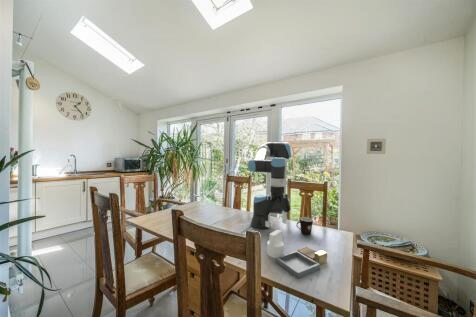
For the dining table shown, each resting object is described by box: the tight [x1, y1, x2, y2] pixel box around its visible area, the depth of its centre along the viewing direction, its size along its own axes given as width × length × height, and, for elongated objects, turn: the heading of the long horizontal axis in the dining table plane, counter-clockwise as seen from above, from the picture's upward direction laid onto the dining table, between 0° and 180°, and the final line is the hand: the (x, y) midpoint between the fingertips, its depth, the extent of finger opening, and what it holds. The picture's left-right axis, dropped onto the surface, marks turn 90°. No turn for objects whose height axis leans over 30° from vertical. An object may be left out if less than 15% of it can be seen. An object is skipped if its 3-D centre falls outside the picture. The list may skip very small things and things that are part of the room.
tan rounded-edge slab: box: [296, 246, 317, 260], centre depth 111 cm, size 10×8×2 cm
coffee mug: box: [296, 217, 314, 236], centre depth 142 cm, size 12×9×10 cm
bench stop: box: [314, 249, 328, 266], centre depth 105 cm, size 3×6×5 cm, turn 121°
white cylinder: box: [266, 229, 285, 259], centre depth 112 cm, size 9×9×12 cm
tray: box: [274, 250, 321, 279], centre depth 101 cm, size 15×15×3 cm
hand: (276, 224), depth 112 cm, fingers open, 11 cm apart
